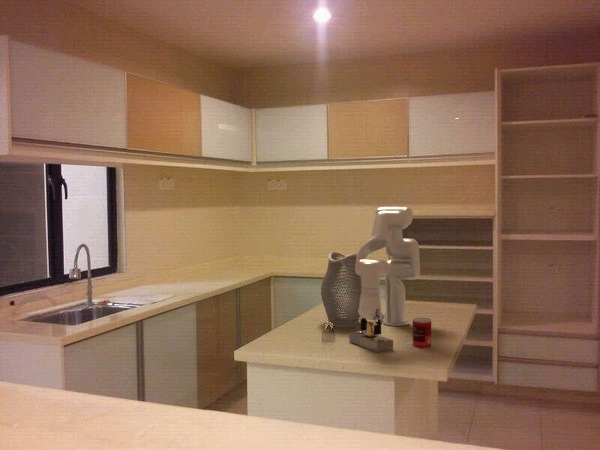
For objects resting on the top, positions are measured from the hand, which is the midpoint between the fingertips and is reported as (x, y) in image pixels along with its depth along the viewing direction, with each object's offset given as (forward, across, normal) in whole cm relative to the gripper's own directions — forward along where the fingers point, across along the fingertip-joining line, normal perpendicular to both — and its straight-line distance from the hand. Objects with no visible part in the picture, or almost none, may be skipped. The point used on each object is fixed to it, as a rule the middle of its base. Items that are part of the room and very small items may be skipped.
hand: (370, 332), depth 242 cm
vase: (+6, -43, +14) cm, 46 cm away
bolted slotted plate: (+6, 0, 0) cm, 6 cm away
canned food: (+6, +10, +19) cm, 22 cm away
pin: (+6, 0, 0) cm, 6 cm away
